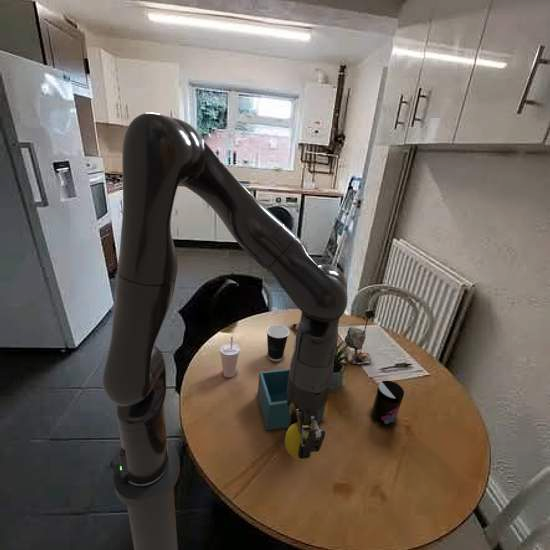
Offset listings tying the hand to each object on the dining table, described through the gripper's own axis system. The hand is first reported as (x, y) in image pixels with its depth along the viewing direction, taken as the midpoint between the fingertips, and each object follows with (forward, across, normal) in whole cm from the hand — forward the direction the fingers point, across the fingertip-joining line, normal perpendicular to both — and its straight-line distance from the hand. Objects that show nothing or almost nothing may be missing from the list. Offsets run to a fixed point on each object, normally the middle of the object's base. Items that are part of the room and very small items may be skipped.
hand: (298, 442), depth 61 cm
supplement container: (+15, -14, +32) cm, 39 cm away
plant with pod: (+15, -40, +37) cm, 57 cm away
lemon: (+4, 0, 0) cm, 4 cm away
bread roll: (+15, -60, +24) cm, 66 cm away
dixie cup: (+16, -46, +8) cm, 49 cm away
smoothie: (+16, -39, -9) cm, 43 cm away
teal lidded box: (+15, -22, +6) cm, 28 cm away
